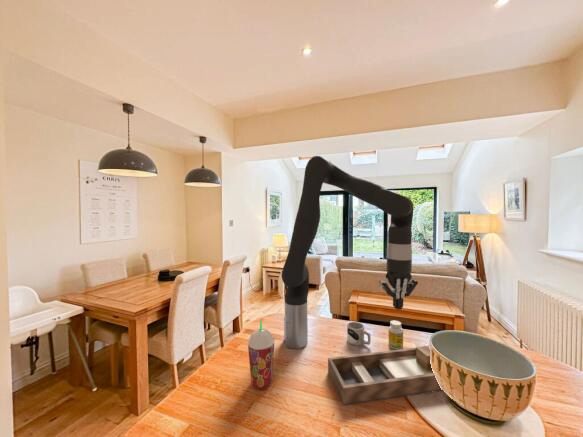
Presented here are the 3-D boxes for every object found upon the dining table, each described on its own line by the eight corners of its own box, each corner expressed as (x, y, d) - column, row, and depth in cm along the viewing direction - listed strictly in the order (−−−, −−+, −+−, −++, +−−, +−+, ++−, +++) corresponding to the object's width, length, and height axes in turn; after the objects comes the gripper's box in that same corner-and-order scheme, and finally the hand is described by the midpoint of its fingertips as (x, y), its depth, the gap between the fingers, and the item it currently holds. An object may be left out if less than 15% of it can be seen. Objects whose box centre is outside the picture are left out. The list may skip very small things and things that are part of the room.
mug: (344, 341, 102) (344, 325, 101) (353, 335, 106) (353, 320, 106) (365, 351, 94) (365, 334, 94) (374, 344, 99) (374, 328, 99)
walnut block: (426, 371, 78) (426, 356, 78) (416, 361, 83) (416, 347, 83) (440, 369, 79) (440, 354, 79) (429, 359, 84) (429, 345, 84)
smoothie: (279, 377, 81) (278, 317, 80) (268, 395, 73) (267, 329, 72) (256, 372, 83) (255, 313, 82) (243, 389, 75) (242, 325, 75)
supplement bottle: (393, 341, 101) (393, 318, 101) (406, 347, 97) (406, 323, 96) (385, 345, 98) (385, 321, 98) (397, 351, 94) (397, 327, 93)
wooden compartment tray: (343, 405, 69) (343, 388, 69) (328, 372, 83) (327, 357, 82) (456, 388, 75) (457, 372, 74) (424, 360, 88) (424, 346, 88)
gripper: (410, 254, 85) (409, 303, 86) (374, 255, 83) (373, 305, 84) (425, 258, 78) (423, 312, 79) (386, 259, 76) (385, 315, 77)
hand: (397, 308), depth 82 cm, fingers closed
